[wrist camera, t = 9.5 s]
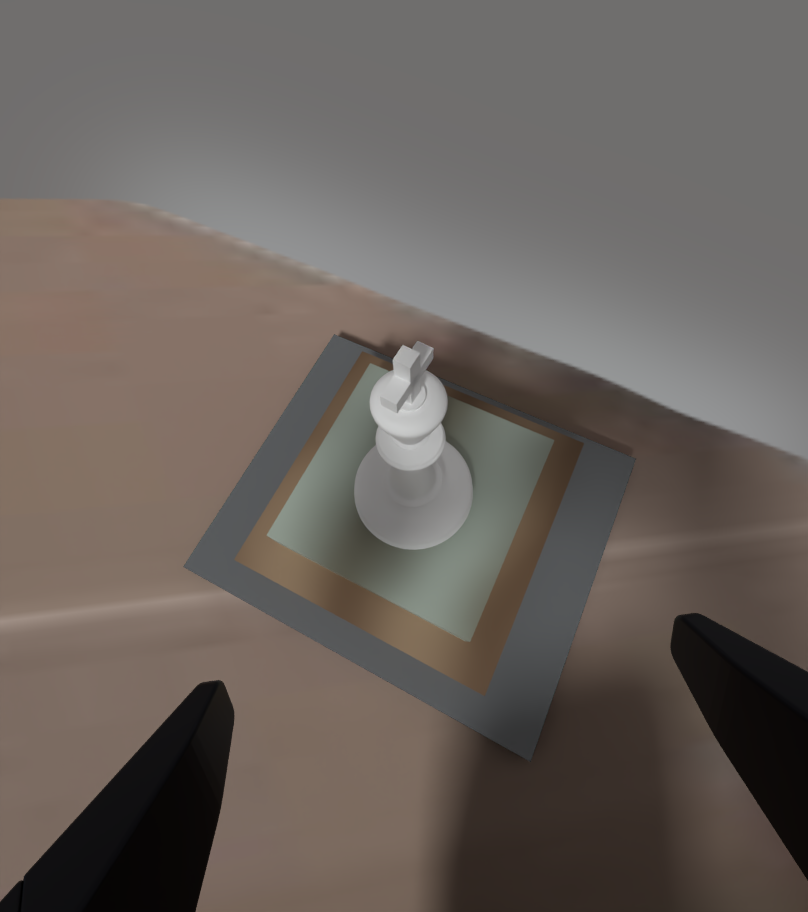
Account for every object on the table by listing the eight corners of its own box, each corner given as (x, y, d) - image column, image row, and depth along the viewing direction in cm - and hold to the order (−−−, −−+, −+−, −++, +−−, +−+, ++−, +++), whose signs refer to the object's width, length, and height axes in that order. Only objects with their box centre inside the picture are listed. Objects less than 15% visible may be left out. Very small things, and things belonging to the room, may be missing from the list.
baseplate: (629, 464, 25) (635, 458, 24) (526, 757, 20) (530, 761, 19) (336, 342, 28) (334, 334, 27) (190, 568, 23) (183, 566, 23)
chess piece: (331, 511, 19) (246, 394, 10) (393, 417, 21) (370, 237, 11) (436, 573, 18) (453, 509, 9) (493, 469, 19) (560, 319, 10)
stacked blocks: (570, 459, 24) (599, 425, 20) (478, 690, 20) (491, 703, 16) (366, 373, 26) (357, 327, 22) (250, 566, 23) (215, 551, 19)
